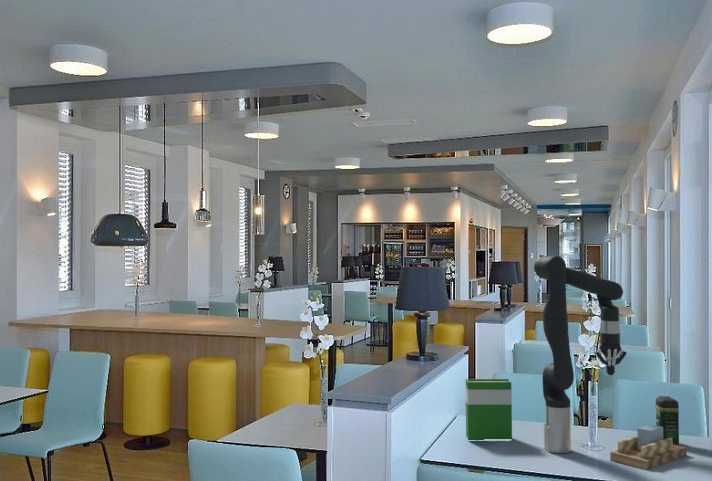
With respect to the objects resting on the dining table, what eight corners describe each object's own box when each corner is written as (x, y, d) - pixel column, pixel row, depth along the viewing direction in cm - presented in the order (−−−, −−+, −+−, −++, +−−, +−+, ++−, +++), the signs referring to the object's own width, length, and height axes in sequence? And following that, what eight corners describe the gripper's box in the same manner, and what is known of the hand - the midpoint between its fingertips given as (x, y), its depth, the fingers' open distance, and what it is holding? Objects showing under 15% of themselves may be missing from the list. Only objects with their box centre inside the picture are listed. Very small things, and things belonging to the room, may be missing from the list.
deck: (646, 469, 246) (645, 449, 246) (610, 460, 257) (610, 441, 257) (686, 455, 263) (686, 436, 263) (651, 447, 274) (651, 429, 274)
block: (650, 452, 256) (650, 430, 256) (637, 449, 260) (637, 428, 260) (663, 448, 262) (663, 426, 262) (650, 445, 266) (650, 424, 266)
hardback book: (508, 436, 291) (508, 379, 291) (512, 441, 283) (511, 382, 284) (466, 436, 292) (465, 379, 292) (468, 441, 284) (467, 382, 285)
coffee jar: (681, 447, 273) (681, 399, 273) (660, 446, 274) (659, 399, 275) (674, 441, 283) (673, 394, 283) (653, 440, 284) (653, 394, 284)
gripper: (597, 333, 278) (598, 376, 278) (630, 332, 279) (630, 376, 279) (590, 331, 286) (590, 373, 286) (622, 330, 286) (622, 373, 286)
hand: (610, 374), depth 282 cm, fingers closed
